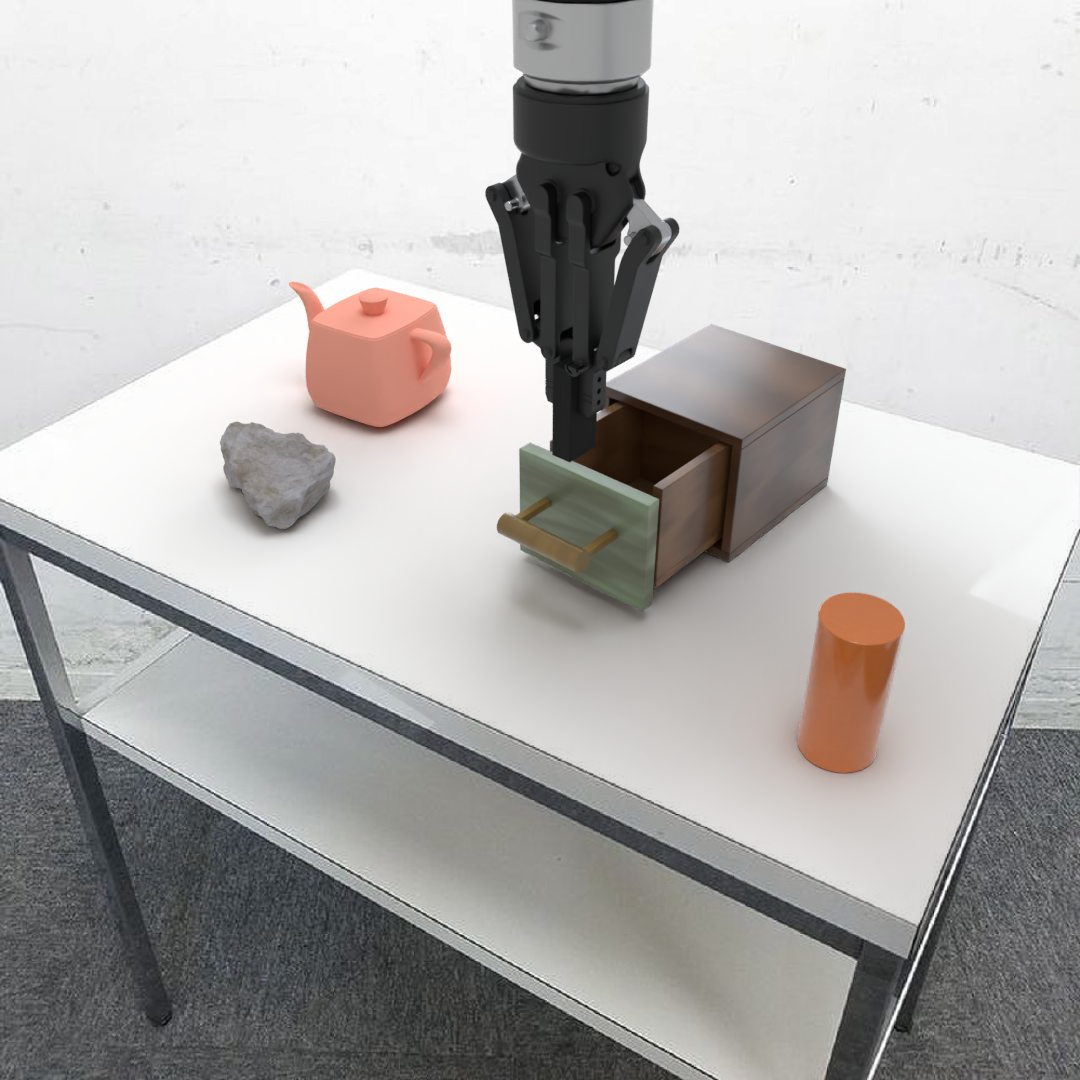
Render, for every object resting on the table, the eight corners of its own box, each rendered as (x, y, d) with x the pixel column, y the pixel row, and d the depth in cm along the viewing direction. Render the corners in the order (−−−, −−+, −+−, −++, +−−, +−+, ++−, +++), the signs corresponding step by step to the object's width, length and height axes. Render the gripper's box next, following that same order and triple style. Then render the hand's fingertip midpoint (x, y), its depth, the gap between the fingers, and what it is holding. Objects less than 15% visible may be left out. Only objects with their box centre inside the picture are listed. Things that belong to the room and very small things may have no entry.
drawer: (598, 646, 79) (602, 537, 74) (475, 579, 86) (471, 475, 81) (748, 530, 91) (760, 429, 86) (630, 478, 97) (635, 381, 92)
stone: (192, 506, 95) (179, 442, 92) (263, 462, 101) (254, 401, 97) (283, 544, 91) (273, 479, 87) (352, 496, 96) (346, 434, 93)
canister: (890, 742, 73) (920, 615, 68) (852, 785, 70) (879, 656, 65) (821, 707, 76) (845, 581, 70) (782, 747, 73) (802, 620, 67)
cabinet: (728, 562, 89) (742, 439, 83) (597, 502, 96) (601, 384, 90) (827, 484, 98) (846, 368, 92) (701, 434, 105) (711, 323, 99)
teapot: (414, 451, 102) (406, 340, 96) (260, 397, 110) (244, 292, 104) (490, 398, 110) (487, 293, 104) (341, 352, 118) (331, 252, 112)
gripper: (447, 70, 66) (463, 440, 79) (634, 110, 59) (617, 509, 72) (536, 47, 71) (536, 400, 84) (719, 82, 64) (688, 461, 77)
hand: (574, 450), depth 78 cm, fingers closed
